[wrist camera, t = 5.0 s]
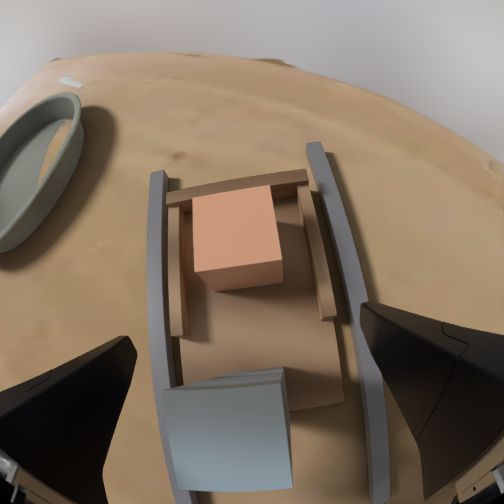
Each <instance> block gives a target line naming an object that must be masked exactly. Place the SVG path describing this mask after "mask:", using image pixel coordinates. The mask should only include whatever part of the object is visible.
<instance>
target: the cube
mask: <svg viewBox="0 0 504 504" xmlns="http://www.w3.org/2000/svg"><path fill="white" fill-rule="evenodd" d="M192 203H193V247H194V271H195V273H196V274H197V275H198V276H199V277H200V278H201V279H202V280H203V281H204V282H205V283H206V284H207V285H208V286H210V287H211V288H212V289H213V290H214V291H215V292H218V291H226V290H233V289H241V288H248V287H255V286H263V285H270V284H277V283H283V267H282V255H281V249H280V243H279V237H278V231H277V225H276V219H275V213H274V207H273V201H272V196H271V190H270V185H266V186H259V187H253V188H246V189H240V190H234V191H228V192H222V193H217V194H211V195H206V196H200V197H195V198H192Z"/></svg>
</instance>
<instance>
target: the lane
mask: <svg viewBox="0 0 504 504" xmlns="http://www.w3.org/2000/svg"><path fill="white" fill-rule="evenodd" d="M306 154H307V157H308V160H309V163H310V166H311V169H312V173H313V176H314V179H315V182H316V186H317V189H318V193H319V196H320V199H321V203H322V206H323V210H324V214H325V217H326V221H327V225H328V228H329V232H330V236H331V240H332V244H333V248H334V252H335V256H336V260H337V265H338V269H339V273H340V278H341V282H342V287H343V291H344V296H345V301H346V306H347V311H348V316H349V321H350V326H351V332H352V337H353V343H354V349H355V355H356V361H357V368H358V375H359V382H360V389H361V397H362V405H363V414H364V423H365V434H366V445H367V460H368V478H369V500H370V502H371V504H383V503H386V502H389V501H390V461H389V441H388V427H387V416H386V406H385V397H384V388H383V381H382V374H381V372H380V370H379V368H378V366H377V364H376V363H375V361H374V359H373V357H372V355H371V353H370V350H369V348H368V345H367V342H366V340H365V337H364V335H363V332H362V329H361V327H360V305H361V303H363V302H367V301H368V297H367V292H366V288H365V284H364V279H363V275H362V271H361V267H360V263H359V259H358V256H357V252H356V248H355V244H354V241H353V237H352V234H351V230H350V227H349V223H348V220H347V217H346V213H345V210H344V207H343V204H342V201H341V198H340V195H339V191H338V188H337V185H336V183H335V180H334V177H333V174H332V171H331V168H330V165H329V163H328V160H327V157H326V154H325V152H324V149H323V146H322V144H321V141H319V142H310V143H307V144H306ZM167 192H168V176H167V174H166V173H165V171H164V170H160V171H156V172H152V173H151V175H150V187H149V202H148V221H147V311H148V330H149V345H150V357H151V367H152V377H153V386H154V394H155V401H156V408H157V415H158V422H159V428H160V434H161V439H162V445H163V450H164V455H165V460H166V464H167V469H168V473H169V478H170V482H171V486H172V490H173V494H174V498H175V502H176V504H198V500H197V496H196V491H194V490H182V489H179V488H178V484H177V479H176V475H175V470H174V465H173V459H172V454H171V448H170V443H169V437H168V430H167V424H166V417H165V409H164V401H163V393H162V390H166V389H170V388H175V387H177V383H176V374H175V365H174V356H173V345H172V336H171V331H170V314H169V290H168V249H167V210H168V206H167V205H166V193H167Z"/></svg>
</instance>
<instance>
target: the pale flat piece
mask: <svg viewBox="0 0 504 504" xmlns="http://www.w3.org/2000/svg"><path fill="white" fill-rule="evenodd" d="M59 82H60V83H62V84H65V85H71V86H75V87H79V88H81V87H82V86H83V85H84V84H83V83H80V82H78V81H76V80H75V79H74V78H72V77H69V76H64V77H62V78H61V79H60V80H59Z"/></svg>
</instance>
